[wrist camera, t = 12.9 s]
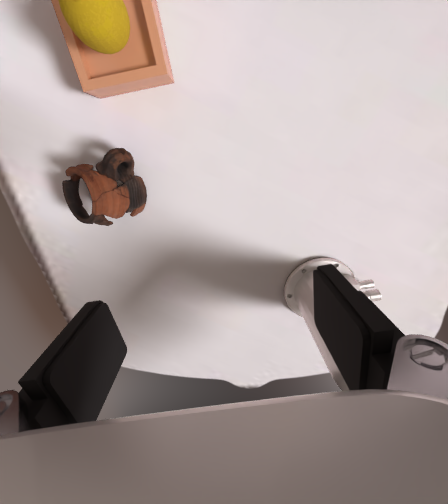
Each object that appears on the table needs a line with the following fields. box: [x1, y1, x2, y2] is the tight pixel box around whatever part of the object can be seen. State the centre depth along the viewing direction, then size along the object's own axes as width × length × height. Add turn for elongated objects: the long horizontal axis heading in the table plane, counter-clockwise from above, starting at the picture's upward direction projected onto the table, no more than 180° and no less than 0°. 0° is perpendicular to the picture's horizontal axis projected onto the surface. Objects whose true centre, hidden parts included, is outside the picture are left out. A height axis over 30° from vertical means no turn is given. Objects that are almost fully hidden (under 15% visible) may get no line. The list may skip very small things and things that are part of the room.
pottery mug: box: [63, 148, 147, 226], centre depth 33 cm, size 12×9×8 cm
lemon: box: [58, 0, 130, 54], centre depth 22 cm, size 6×6×8 cm
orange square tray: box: [51, 0, 174, 99], centre depth 27 cm, size 10×10×4 cm
